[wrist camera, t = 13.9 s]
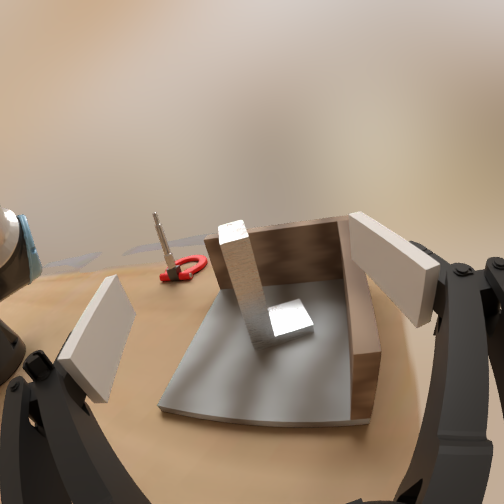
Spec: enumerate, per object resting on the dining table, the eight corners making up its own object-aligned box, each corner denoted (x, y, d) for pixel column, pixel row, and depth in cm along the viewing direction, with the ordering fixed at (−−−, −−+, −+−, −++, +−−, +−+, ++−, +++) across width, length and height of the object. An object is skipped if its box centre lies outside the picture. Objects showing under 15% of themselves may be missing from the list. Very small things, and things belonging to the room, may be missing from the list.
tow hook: (179, 261, 57) (157, 283, 49) (161, 204, 52) (133, 218, 44) (214, 258, 54) (194, 281, 46) (196, 195, 50) (171, 209, 42)
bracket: (254, 350, 27) (219, 244, 22) (248, 322, 31) (218, 226, 26) (314, 332, 27) (296, 223, 22) (300, 306, 31) (281, 208, 27)
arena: (161, 410, 22) (113, 347, 19) (225, 289, 41) (207, 235, 38) (369, 423, 17) (381, 351, 13) (354, 277, 36) (348, 215, 32)
